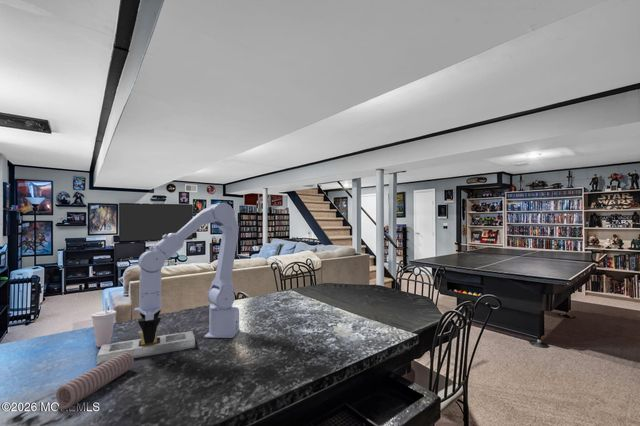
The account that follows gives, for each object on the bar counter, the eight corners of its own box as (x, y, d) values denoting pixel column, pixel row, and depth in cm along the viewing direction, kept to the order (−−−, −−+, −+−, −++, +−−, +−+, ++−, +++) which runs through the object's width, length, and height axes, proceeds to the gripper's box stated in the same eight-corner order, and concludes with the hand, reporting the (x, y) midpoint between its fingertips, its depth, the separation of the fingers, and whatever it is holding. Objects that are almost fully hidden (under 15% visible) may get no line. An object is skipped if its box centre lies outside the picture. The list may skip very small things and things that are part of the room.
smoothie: (120, 342, 96) (121, 297, 96) (98, 350, 90) (99, 302, 91) (107, 339, 99) (108, 295, 99) (85, 346, 93) (86, 300, 93)
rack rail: (192, 338, 99) (192, 330, 99) (194, 347, 92) (194, 338, 92) (102, 353, 88) (102, 344, 88) (97, 364, 81) (97, 355, 81)
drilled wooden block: (159, 346, 93) (160, 326, 93) (159, 351, 89) (160, 329, 89) (138, 350, 90) (138, 329, 90) (137, 355, 87) (137, 333, 87)
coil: (119, 351, 79) (50, 387, 61) (135, 350, 79) (70, 386, 61) (120, 369, 79) (51, 411, 61) (137, 368, 78) (72, 410, 61)
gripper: (136, 288, 95) (135, 333, 94) (132, 298, 82) (131, 350, 82) (161, 286, 98) (161, 329, 98) (162, 295, 85) (161, 345, 85)
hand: (149, 338), depth 90 cm, fingers open, 7 cm apart
